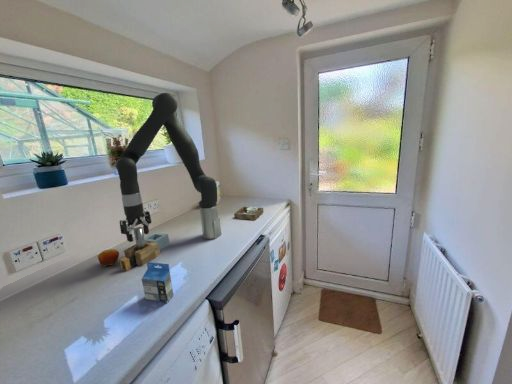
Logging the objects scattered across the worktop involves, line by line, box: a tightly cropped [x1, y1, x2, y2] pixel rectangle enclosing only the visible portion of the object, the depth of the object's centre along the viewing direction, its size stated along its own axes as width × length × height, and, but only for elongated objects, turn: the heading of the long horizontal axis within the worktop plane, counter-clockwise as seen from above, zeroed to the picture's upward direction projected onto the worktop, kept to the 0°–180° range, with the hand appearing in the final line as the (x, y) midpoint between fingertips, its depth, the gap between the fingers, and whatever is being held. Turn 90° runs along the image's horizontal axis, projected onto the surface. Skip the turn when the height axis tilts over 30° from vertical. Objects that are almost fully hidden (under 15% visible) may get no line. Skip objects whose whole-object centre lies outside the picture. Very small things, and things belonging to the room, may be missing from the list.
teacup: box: [246, 206, 259, 214], centre depth 155 cm, size 10×10×5 cm
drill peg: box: [132, 226, 146, 250], centre depth 105 cm, size 4×4×15 cm
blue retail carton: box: [141, 261, 174, 303], centre depth 77 cm, size 9×4×12 cm, turn 77°
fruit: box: [97, 248, 120, 268], centre depth 102 cm, size 8×8×8 cm
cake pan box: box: [216, 181, 221, 205], centre depth 182 cm, size 19×5×18 cm, turn 168°
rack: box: [144, 232, 170, 251], centre depth 117 cm, size 9×9×6 cm
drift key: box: [119, 253, 137, 272], centre depth 100 cm, size 3×8×5 cm, turn 158°
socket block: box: [123, 241, 161, 267], centre depth 106 cm, size 10×10×6 cm
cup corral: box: [233, 206, 264, 221], centre depth 155 cm, size 15×15×4 cm
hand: (139, 237), depth 104 cm, fingers open, 8 cm apart
